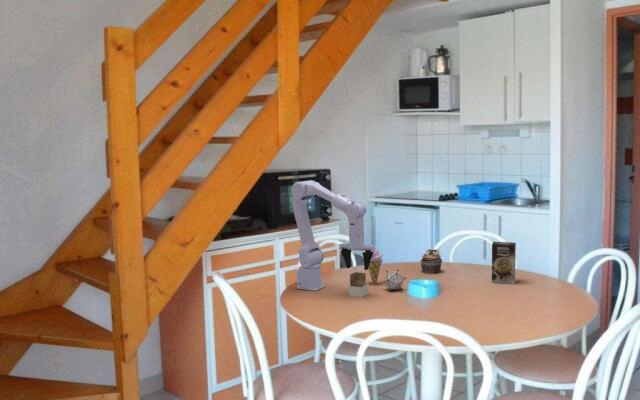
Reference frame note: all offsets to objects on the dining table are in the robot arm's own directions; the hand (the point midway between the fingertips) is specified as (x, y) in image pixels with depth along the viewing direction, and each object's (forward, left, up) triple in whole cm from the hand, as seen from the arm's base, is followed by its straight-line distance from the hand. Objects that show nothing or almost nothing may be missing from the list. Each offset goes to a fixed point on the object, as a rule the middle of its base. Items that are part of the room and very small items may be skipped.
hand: (357, 268), depth 224 cm
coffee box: (+46, +41, -10) cm, 63 cm away
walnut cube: (0, 0, -6) cm, 7 cm away
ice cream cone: (-1, +18, -10) cm, 21 cm away
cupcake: (+13, +47, -10) cm, 50 cm away
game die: (+10, +12, -10) cm, 19 cm away
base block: (0, 0, -10) cm, 11 cm away
